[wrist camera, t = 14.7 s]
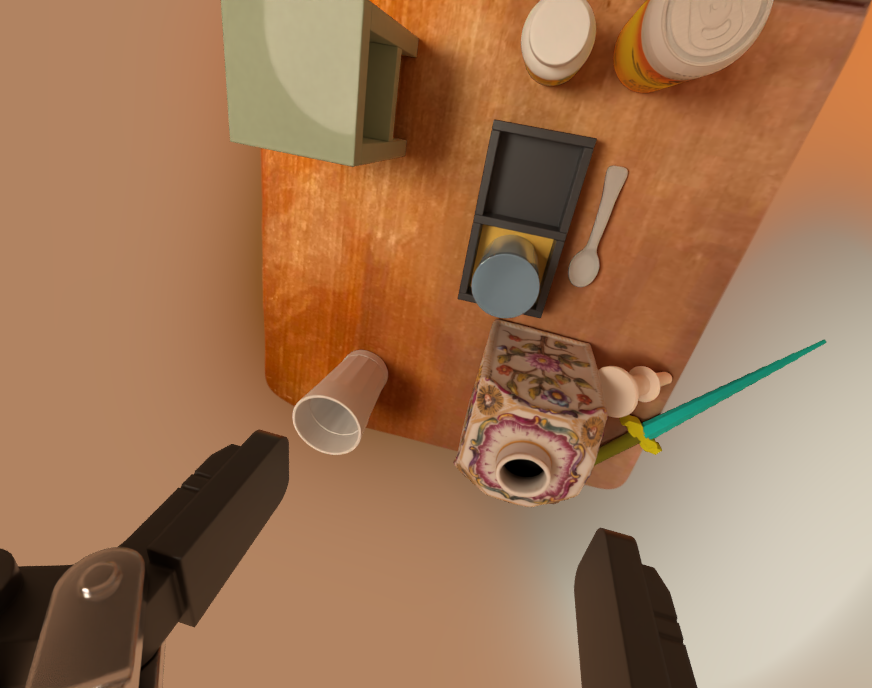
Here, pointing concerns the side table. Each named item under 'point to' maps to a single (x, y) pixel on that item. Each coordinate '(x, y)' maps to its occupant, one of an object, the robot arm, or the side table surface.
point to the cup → (341, 404)
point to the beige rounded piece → (630, 387)
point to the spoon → (597, 230)
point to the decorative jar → (532, 417)
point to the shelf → (315, 77)
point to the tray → (528, 197)
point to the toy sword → (685, 411)
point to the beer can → (685, 40)
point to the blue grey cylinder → (507, 277)
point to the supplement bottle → (557, 39)
